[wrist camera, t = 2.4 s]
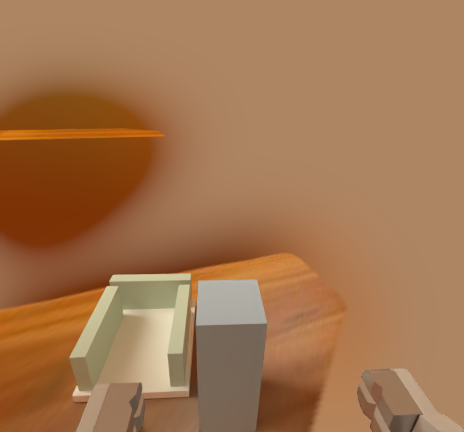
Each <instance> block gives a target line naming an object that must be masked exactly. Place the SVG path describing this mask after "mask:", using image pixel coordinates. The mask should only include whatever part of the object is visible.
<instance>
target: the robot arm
mask: <svg viewBox="0 0 464 432" xmlns="http://www.w3.org/2000/svg"><path fill="white" fill-rule="evenodd" d="M361 377H362V379H363V382H362V383H361V384H360V385H359V387H358V392H357V393H358V400H359V403H360V407H361V409H362V411H363V413H364V414H365V415H366V416H367V417H368V418H369V419H370V420H371V424H370V428H371V430H372V432H464V429H463V428H462V427H461V426H459V425H458V424H457V423H455V422H454V421H452V420H451V419H450V418H448V417H447V416H445V415H444V414H443V413H442V414H439V413H438V412H437V410H436V409H435V408H434V406H433V405H432V403H431V402H430V401H429V399H428V398H427V397H426V395H425V394H424V392H423V391H422V389H421V388H420V387H419V385H418V384H417V382H416V381H415V380H414V378H413V377H412V375H411V374H410V373H409V371H407V370H406V369H404V368H400V369H379V370H365V371H364V372H363V373H362V376H361ZM142 389H143V388H142V383H141V382H132V383H103V384H96V385H95V387H94V388H93V390H92V392H91V395H90V397H89V400H88V402H87V405H86V407H85V410H84V412H83V415H82V417H81V420H80V422H79V425H78V427H77V430H76V432H139V430H140V429H141V428H142V424H143V419H144V411H145V400H144V396H142V395H141V393H142Z"/></svg>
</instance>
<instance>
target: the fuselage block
mask: <svg viewBox="0 0 464 432" xmlns="http://www.w3.org/2000/svg"><path fill="white" fill-rule="evenodd" d="M266 330H267V321H266V316H265V312H264V308H263V304H262V300H261V295H260V291H259V287H258V283H257V280H216V281H199V283H198V299H197V314H196V348H197V378H198V408H199V432H256V426H257V417H258V407H259V397H260V388H261V378H262V369H263V359H264V349H265V340H266Z"/></svg>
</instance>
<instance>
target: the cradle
mask: <svg viewBox="0 0 464 432" xmlns="http://www.w3.org/2000/svg"><path fill="white" fill-rule="evenodd" d="M195 308H196V303H195V301H192V285H191V274H146V275H145V274H142V275H113V276H112V278H111V280H110V286H107V287H106V289H105V291H104V293H103V295H102V297H101V298H100V300H99V302H98V304H97V306H96V308H95V310H94V312H93V314H92V315H91V317H90V319H89V321H88V323H87V325H86V327H85V329H84V331H83V332H82V334H81V336H80V338H79V340H78V342H77V344H76V346H75V348H74V349H73V351H72V353H71V355H70V357H69V359H70V362H71V366H72V369H73V372H74V376H75V379H76V382H77V386H76V388H75V391H74V393H73V395H72V398H73V401H74V402H88V400H89V397H90V395H91V392H92V390H93V388H94V387H95V385H96V384H103V383H132V382H141V383H142V388H143V389H142V393H141V395H142V396H144V399H151V398H172V397H189V391H190V377H191V363H192V349H193V335H194V321H195Z"/></svg>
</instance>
